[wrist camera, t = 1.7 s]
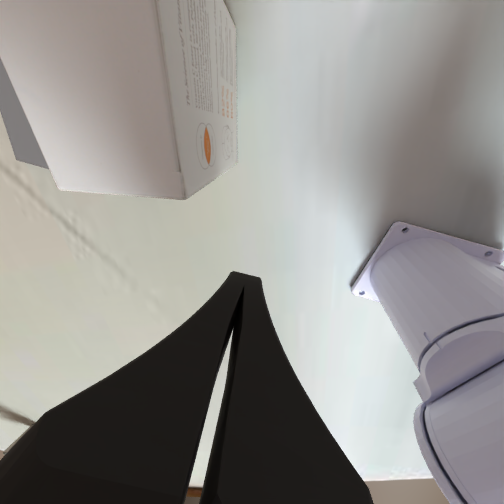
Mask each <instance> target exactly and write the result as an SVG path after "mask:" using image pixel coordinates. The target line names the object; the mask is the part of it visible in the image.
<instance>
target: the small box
mask: <svg viewBox="0 0 504 504" xmlns="http://www.w3.org/2000/svg"><path fill="white" fill-rule="evenodd" d="M0 58H1V60H2V63H3V65H4V67H5V69H6V72H7V74H8V76H9V78H10V81H11V83H12V85H13V88H14V90H15V92H16V95H17V97H18V99H19V101H20V104H21V106H22V108H23V110H24V113H25V115H26V117H27V119H28V121H29V124H30V126H31V128H32V131H33V133H34V135H35V137H36V140H37V142H38V145H39V147H40V149H41V151H42V154H43V156H44V158H45V160H46V163H47V165H48V167H49V170H50V172H51V174H52V176H53V179H54V181H55V183H56V186H57V188H58V189H59V190H62V191H73V192H86V193H98V194H111V195H124V196H137V197H150V198H164V199H177V200H185V199H187V198H189V197H191V196H192V195H193V194H195V193H196V192H198V191H199V190H201V189H202V188H204V187H205V186H206V185H208V184H209V183H211V182H212V181H214V180H215V179H216V178H218V177H219V176H221V175H222V174H224V173H225V172H226V171H228V170H229V169H231V168H232V167H234V166H235V165H237V163H238V151H237V74H236V27H235V25H234V23H233V20H232V18H231V16H230V14H229V11H228V9H227V7H226V5H225V3H224V1H223V0H0Z"/></svg>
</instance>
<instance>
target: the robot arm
mask: <svg viewBox="0 0 504 504" xmlns="http://www.w3.org/2000/svg"><path fill="white" fill-rule="evenodd" d="M406 227H407V229H406V230H405V231H402V229H404V228H406ZM486 252H487V253H486ZM485 253H486V254H485ZM503 261H504V251H503V250H500V249H496V248H493V247H489V246H486V245H482V244H479V243H475V242H471V241H468V240H464V239H461V238H457V237H454V236H450V235H447V234H443V233H440V232H436V231H433V230H429V229H426V228H422V227H418V226H415V225H411V224H408V223H404V222H400V221H398V222H395V223H394V224H393V225H392V226H391V228H390V229H389V231H388V232H387V234H386V235H385V237H384V238H383V240H382V241H381V243H380V245H379V246H378V248H377V249H376V251H375V252H374V254H373V255H372V257H371V259H370V260H369V262H368V263H367V265H366V266H365V268H364V269H363V271H362V272H361V274H360V276H359V277H358V279H357V280H356V282H355V283H354V285H353V286H352V288H351V292H352V294H353V295H356V296H360V297H363V298H367V299H370V300H374V301H377V302H380V303H381V304H382V306H383V308H384V310H385V312H386V313H387V315H388V317H389V319H390V320H391V322H392V324H393V326H394V327H395V329H396V331H397V333H398V335H399V336H400V338H401V340H402V342H403V343H404V345H405V347H406V349H407V351H408V352H409V354H410V356H411V358H412V359H413V361H414V363H415V365H416V366H417V368H418V370H419V372H420V375H419V377H418V378H417V379H416V380H415V381H414V382H413V383H414V385H415V387H416V389H417V391H418V393H419V395H420V397H421V399H422V401H423V402H422V403H420V404H419V405H418V406H417V408H416V410H415V413H414V420H413V422H414V430H415V434H416V438H417V442H418V445H419V447H420V450H421V453H422V455H423V457H424V460H425V462H426V464H427V466H428V468H429V470H430V472H431V474H432V476H433V477H434V479H435V481H436V483H437V484H438V486H439V488H440V489H441V491H442V492H443V494H444V495H445V497H446V498H447V500H448V501H449V503H450V504H504V267H503V266H502V265H500V264H501V263H502V262H503ZM361 291H363V292H361ZM360 292H361V293H360ZM232 330H233V335H232V342H231V349H230V356H229V364H228V371H227V378H226V384H225V390H224V394H223V399H222V403H221V408H220V413H219V417H218V422H217V426H216V431H215V435H214V440H213V444H212V449H211V453H210V458H209V462H208V467H207V471H206V476H205V480H204V485H203V489H202V494H201V499H200V503H199V504H374V503H373V500H372V497H371V494H370V491H369V489H368V487H367V485H366V484H365V482H364V481H363V480H362V478H361V477H360V475H359V474H358V473H357V471H356V470H355V468H354V467H353V465H352V464H351V463H350V461H349V460H348V458H347V457H346V455H345V454H344V452H343V451H342V449H341V448H340V446H339V445H338V443H337V442H336V440H335V439H334V438H333V436H332V434H331V433H330V431H329V430H328V428H327V427H326V425H325V423H324V422H323V420H322V419H321V417H320V416H319V414H318V412H317V411H316V409H315V407H314V406H313V404H312V402H311V400H310V399H309V397H308V395H307V394H306V392H305V390H304V388H303V387H302V385H301V383H300V381H299V380H298V378H297V376H296V374H295V372H294V370H293V368H292V366H291V364H290V362H289V360H288V358H287V356H286V354H285V352H284V350H283V348H282V345H281V343H280V341H279V338H278V336H277V333H276V331H275V328H274V326H273V323H272V320H271V317H270V314H269V311H268V308H267V304H266V301H265V297H264V292H263V288H262V280H261V279H260V278H259V277H255V276H251V275H247V274H243V273H239V272H235V271H233V272H231V273H230V274H229V276H228V278H227V279H226V280H225V282H224V283H223V284H222V285H221V287H220V288H219V289H218V290H217V291H216V292H215V294H214V295H213V296H212V297H211V298H210V299H209V300H208V301H207V302H206V303H205V304H204V305H203V306H202V307H201V308H200V309H199V310H198V311H197V312H196V313H195V314H194V315H192V316H191V317H190V318H189V319H188V320H187V321H186V322H184V323H183V324H182V325H181V326H180V327H178V328H177V329H176V330H175V331H174V332H172V333H171V334H170V335H168V336H167V337H166V338H164V339H163V340H162V341H160V342H159V343H158V344H156V345H155V346H153V347H152V348H151V349H149V350H148V351H146V352H145V353H143V354H142V355H140V356H139V357H137V358H136V359H134V360H133V361H131V362H130V363H128V364H127V365H125V366H123V367H122V368H120V369H119V370H117V371H116V372H114V373H113V374H111V375H109V376H108V377H106V378H104V379H103V380H101V381H99V382H98V383H96V384H94V385H92V386H91V387H89V388H87V389H85V390H84V391H82V392H80V393H78V394H77V395H75V396H73V397H71V398H70V399H68V400H66V401H64V402H63V403H61V404H59V405H57V406H56V407H54V408H52V409H50V410H49V411H47V412H46V413H44V414H43V415H42V417H41V418H40V419H39V420H38V421H37V422H36V423H35V424H34V425H33V426H32V427H31V428H30V429H29V430H28V431H27V432H26V433H25V434H24V435H23V436H22V437H21V438H20V439H19V440H18V441H17V442H16V443H15V444H14V445H13V446H12V447H11V449H10V450H9V451H8V452H7V453H6V454H5V456H4V457H3V458H2V459H1V460H0V504H184V502H185V498H186V494H187V490H188V486H189V482H190V478H191V474H192V470H193V466H194V463H195V459H196V455H197V451H198V447H199V443H200V439H201V435H202V431H203V427H204V423H205V419H206V415H207V411H208V407H209V403H210V399H211V395H212V392H213V388H214V384H215V381H216V378H217V374H218V371H219V368H220V365H221V363H222V360H223V357H224V354H225V351H226V348H227V345H228V342H229V339H230V336H231V333H232Z"/></svg>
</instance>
